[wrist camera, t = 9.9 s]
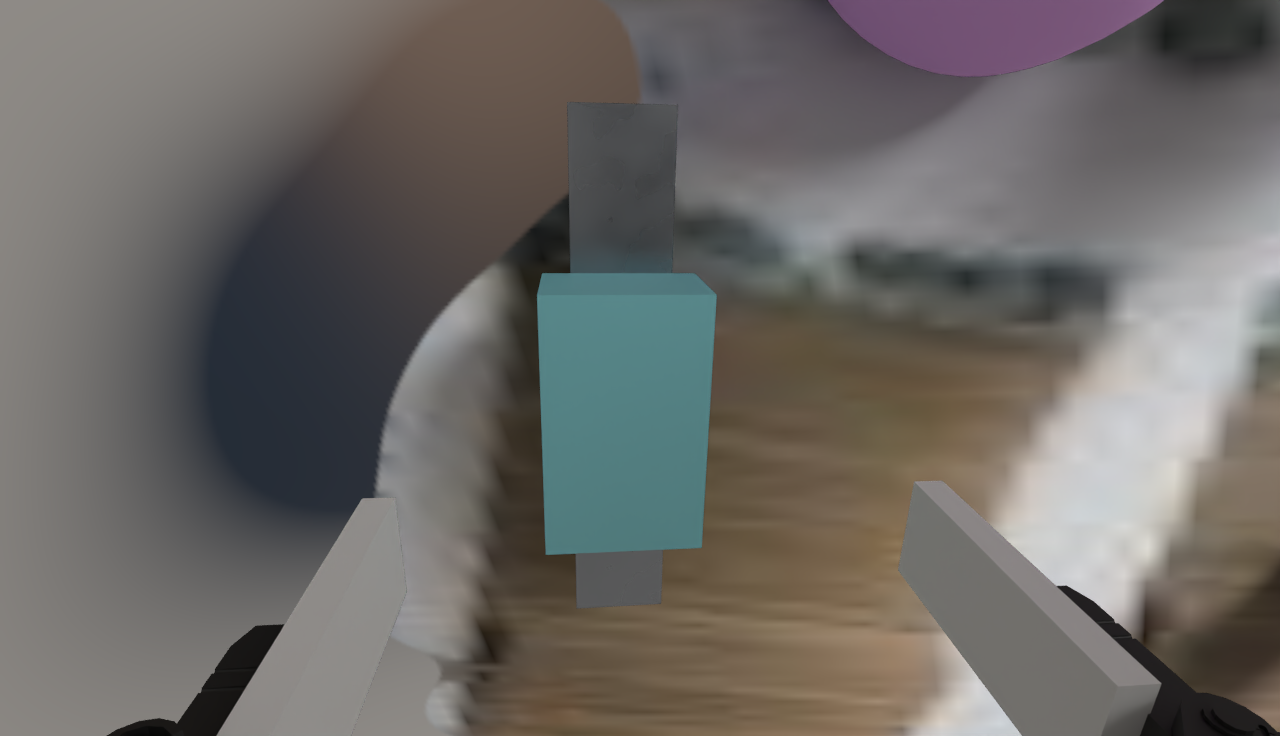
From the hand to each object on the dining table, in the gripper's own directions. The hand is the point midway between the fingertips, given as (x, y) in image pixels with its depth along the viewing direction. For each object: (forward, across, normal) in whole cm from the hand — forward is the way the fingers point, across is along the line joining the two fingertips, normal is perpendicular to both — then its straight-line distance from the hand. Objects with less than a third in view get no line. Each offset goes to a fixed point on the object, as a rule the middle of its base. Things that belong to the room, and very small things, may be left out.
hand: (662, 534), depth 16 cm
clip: (+14, 0, 0) cm, 14 cm away
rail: (+15, 0, 0) cm, 15 cm away
